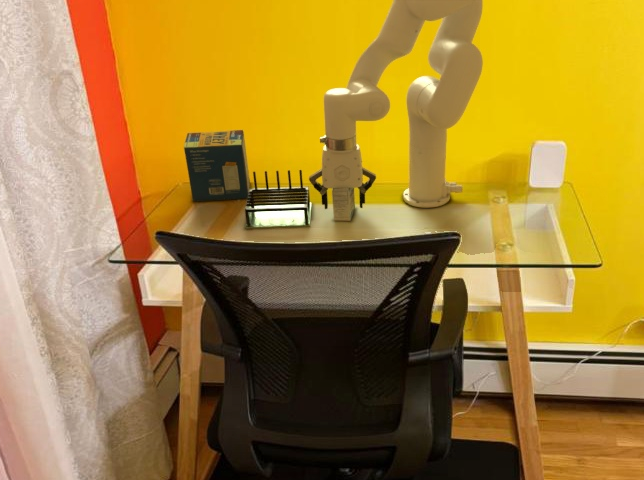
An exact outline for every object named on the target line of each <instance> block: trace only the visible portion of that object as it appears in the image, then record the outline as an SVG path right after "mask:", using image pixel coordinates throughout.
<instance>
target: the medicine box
mask: <svg viewBox="0 0 644 480" xmlns="http://www.w3.org/2000/svg"><path fill="white" fill-rule="evenodd" d="M355 195H356V193H355V188H333V189H332V190H331V198H332V211H333V214H332V215H333V220H334V221H339V222H341V221H342V222H351V220H352V218H353V214H354V213H355V212H354V211H355V209H356V196H355Z"/></svg>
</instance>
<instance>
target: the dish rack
mask: <svg viewBox="0 0 644 480" xmlns="http://www.w3.org/2000/svg"><path fill="white" fill-rule="evenodd" d="M298 172H299V183H300V186H292V178H291V176H292V175H291V170H290V169H288V170H287V178H288V186H287V187H281V184H280V183H281V182H280V172H279V170H276V171H275V173H276V175H275V176H276V185H277V187H269V179H268V171H267V170H265V171H264V178H265V179H264V181H265V187H262V188H261V187H260V188H259V187H258V183H257V175H256V171H255V170H254V171H252V175H253V183H254V184H253V185H254V188H249V193H248V198H247V199H246V202H245V206H244V215H245V226H244V229H245V230H256V229H257V230H258V229H289V228H309V227H311V216H312V202H311V197H310V187H309V186H304V184H303V183H304V182H303V171H302V169H299V170H298Z"/></svg>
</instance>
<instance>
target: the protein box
mask: <svg viewBox="0 0 644 480" xmlns="http://www.w3.org/2000/svg"><path fill="white" fill-rule="evenodd" d="M246 148H247V147H246V141H245V134H244V129H235V130H220V131H202V132H188V133H186V137H185V141H184V145H183V150H184V156H185V162H186V168H187V172H188V173H187V175H188V180H189V186H190V187H189V188H190V193H191V199H192V202H193V203H194V202H208V201H210V202H212V201H229V200H247V198H248V193H249V189H250V187H251V179H250V171H249V164H248V158H247V149H246Z"/></svg>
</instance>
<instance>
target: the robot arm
mask: <svg viewBox="0 0 644 480" xmlns="http://www.w3.org/2000/svg"><path fill="white" fill-rule="evenodd" d="M483 3H484V1H483V0H393V1H392V3H391V5H390V8H389V9H388V13H387V15H386V18H385V19H384V22H383V24H382V27H381V28H380V30H379V33H378V35H377V37H376V38H375V39H373V41H372V42H371V43H370V44H369V45H368V47H367V48H365V50H364V51H363V52H362V54H361V55H360V56H359V58H358V60H357V62H356V64H355V65H354V68H353V70H352V72H351V74H350V77H349V80H348V82H347V85H346V87H336V88H335V87H334V88H331V89H329V90H327V91H326V92H325V93H324V95H323V111H324V112H323V113H324V115H323V116H324V131H325V135H324V136H321V137H319V143H320V144H324V146H323V149H322V154H321V155H322V156H321V169H318V170H317V171H316V172H314V173H312V174H311V175H309V177H308V181H309V182H310V184H311V185H312V186H313V188H314V190H316V191H318V192H319V195H320V197H321V205H322V206H324V210H327V209H329V208H328V207H329V206H328V205H329V202H328V201H329V199H328V190H329V189H332V190H333V188H354V189H356V188H357V189H358V190H359V191H358V192H359V193H358V194H359V197H358V198H359V208H360V209H363V205H364V204H365V205H366V193H367V191H368V190H369V189H370V188H371V187H372V186H373V184H374V183H375V181H376V179H377V175H376V173H374V172H372V171H370V170H369V169H367V168H365V167H363V158H362V153H361V148H360V145H359V144H358V143H357V122H376V121H379V120H382V119H384V118H385V117H386V116H387V115H388V113H389V112H390V109H391V102H390V97H388V96H389V95H387V93H385V91H383V90H382V89H381V88H379V87H378V84H379V81H380V79H381V77H382V75H383V74H384V71H385V70H386V69H387V68H388V67H389V65H390V64H392V63H393V62H394V61H396V60H397V59H400V58H403V57H406V56H407V55H409V54H410V53H411V52H412V51H413V49H414V47H415V45H416V42H417V41H418V37H419V35H420V33H421V31H422V28H423V26H424V24H425V22H435V21H438V20H441V21H440V24H439V27H438V29H437V31H436V34H435V37H434V39H433V41H432V43H431V45H430V48H429V52H428V56H427V60H428V64H429V66H430V67H431V68H432V70H433V71H435V72H436V73H437V74H438V75H440V77H439V78H437V77H434V76H431V75H423V76H420V77H418V78H416V79H414V80H413V81H412V82H411V84H409V87H408V89H407V93H406V110H407V116H408V128H409V129H408V131H409V134H408V135H409V136H408V139H409V140H408V141H409V143H408V188H406V189H405V190H404V191H403V193H402V199H403V201H404V202H405V203H406V204H407V205H409V206H412V207H415V208H416V207H417V208H423V209H424V208H426V209H429V208H437V207H438V208H439V207H441V206H443V205H445V204H447V203H448V202H449V201H450V200H451V193H455V194H456V193H459V194H460V193H463V185H462V184H457V182H454V181H453V182H448V181H447V180H446V164H447V163H446V162H447V161H446V160H447V143H448V142H447V141H448V140H447V139H448V138H447V137H448V131H447V130H448V129H450V128H453V127H454V126H455V125H457V124H458V122H459V121H460V120H461V119H462V117H463V115H464V113H465V111H466V110H467V107H468V104H469V103H470V100H471V98H472V96H473V94H474V92H475V89H476V88H477V85H478V82H479V80H480V78H481V74H482V72H483V71H482V70H483V64H484V63H483V62H484V61H483V55H482V52H481V51H480V48H479V47H477V45H475V44H473V40H474V37H475V35H476V32H477V29H478V27H479V26H480V25H479V24H480V21H481V20H482V19H481V18H482V14H483V6H484V5H483ZM364 176H365V177H367V178H368V180H366V182H365V183H364ZM320 178H321V182H322V184H321V183H320V182H319V181H318V179H320Z"/></svg>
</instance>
